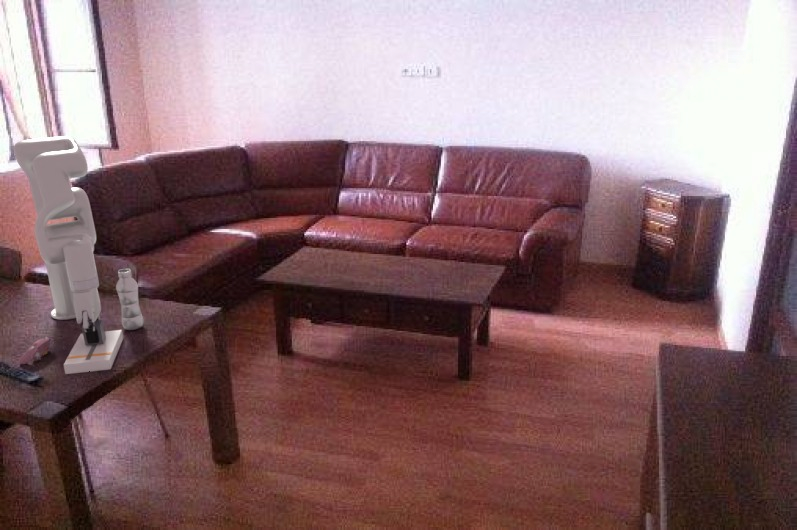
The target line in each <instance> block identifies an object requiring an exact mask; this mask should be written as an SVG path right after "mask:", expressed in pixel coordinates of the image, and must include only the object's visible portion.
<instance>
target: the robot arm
mask: <svg viewBox="0 0 797 530" xmlns="http://www.w3.org/2000/svg"><path fill="white" fill-rule="evenodd" d="M13 153H14V154H13V155H14V158H15V160H16V162H17V163H18V166H19V167H20V169H22V171H23V172H24V174H25V176H26V178H27V179H28V183H29V188H30V191H31V196H32V201H33V204H34V210H35V212H36V216H37V217H36V220H35V223H34V236H35V240H36V243H37V249H38V251H39V253H40V257H41V259H42V260H43V261H44V263H45V264H44V265H45V268H46V273H47V276H48V282H49V287H50V291H51V296H52V299H53V300H52V301H53V304H54V309H52V310H51V312H50V316H51V317H52V319H55V320H60V321H61V320H62V321H64V320H66V321H67V320H73V319H76V323H77V324H78V325H80V324H82V323H83V324H82V326H83V328H84V329H85V333H86V338H87V343H88V344H92V343H99V337H98V331H97V330H96V327H95V321H96V320H101V318H100V315H101V314H100V313H101V310H102V305H101V299H100V294H99V291H98V288H99V287H100V282H99V276H98V272H97V264H96V261H95V255H94V251H95V244H96V242H97V232H96V228H95V227H96V226H95V222H94V218H93V212H92V208H91V204H90V199H89V196H88V195H87V193H86V191H85V190H84V189H82V188H81V187H72V184H71V182H70V179H74V178H82V177H85V176H87V174H88V162H87V159H86V157H85V154H84V152H83V151H82V149H81V148H80V145H79V144H78V143H77V141H76V140H75V138H74V137H72V136H69V135H60V136H52V137H50V136H49V137H38V138H29V139H24V140H19V141H17V142H16V143H15V144H14V146H13ZM68 218H76V219H75V220H70V221H63V222H58V223H51V224H47V223H48V222H49V221H54V220H55V221H56V220H62V219H68ZM89 324H92V326H91V325H89Z"/></svg>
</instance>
